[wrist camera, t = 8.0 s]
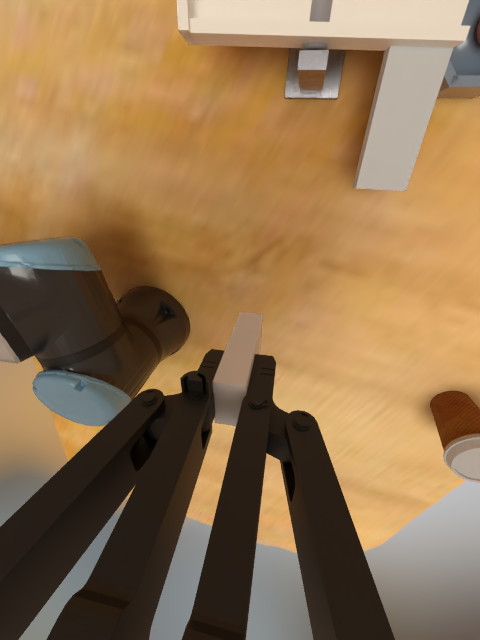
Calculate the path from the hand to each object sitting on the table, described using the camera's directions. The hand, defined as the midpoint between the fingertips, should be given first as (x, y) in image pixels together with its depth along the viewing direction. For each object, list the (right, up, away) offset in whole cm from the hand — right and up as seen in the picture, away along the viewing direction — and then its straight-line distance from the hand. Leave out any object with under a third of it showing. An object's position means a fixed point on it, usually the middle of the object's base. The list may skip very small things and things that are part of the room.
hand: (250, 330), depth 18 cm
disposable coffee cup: (+38, -15, +32) cm, 52 cm away
